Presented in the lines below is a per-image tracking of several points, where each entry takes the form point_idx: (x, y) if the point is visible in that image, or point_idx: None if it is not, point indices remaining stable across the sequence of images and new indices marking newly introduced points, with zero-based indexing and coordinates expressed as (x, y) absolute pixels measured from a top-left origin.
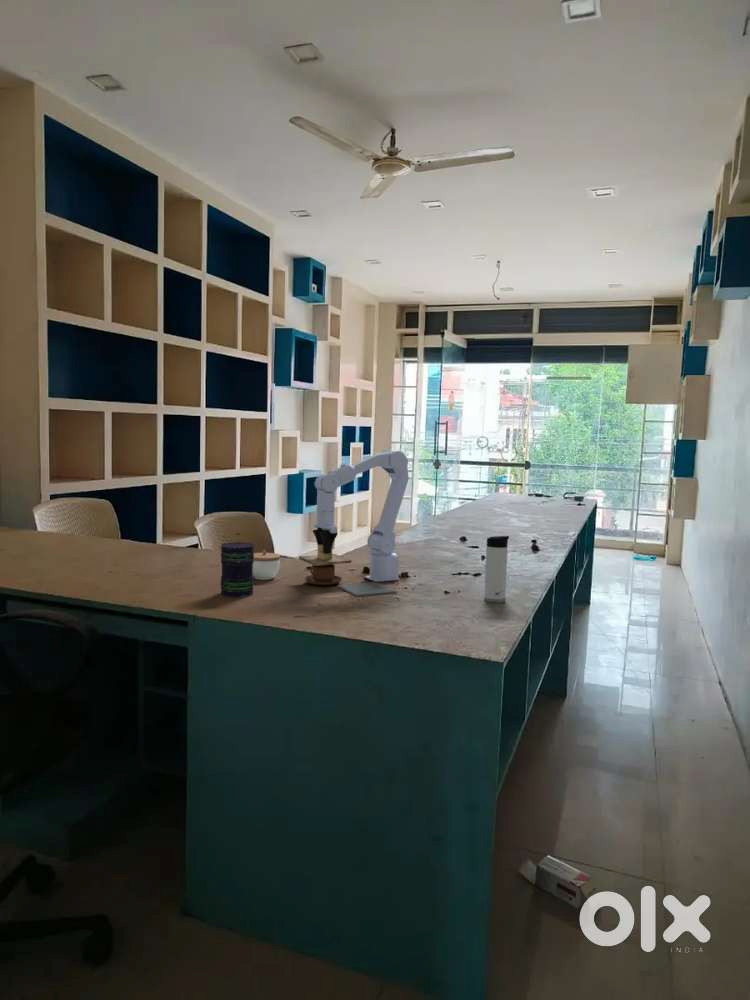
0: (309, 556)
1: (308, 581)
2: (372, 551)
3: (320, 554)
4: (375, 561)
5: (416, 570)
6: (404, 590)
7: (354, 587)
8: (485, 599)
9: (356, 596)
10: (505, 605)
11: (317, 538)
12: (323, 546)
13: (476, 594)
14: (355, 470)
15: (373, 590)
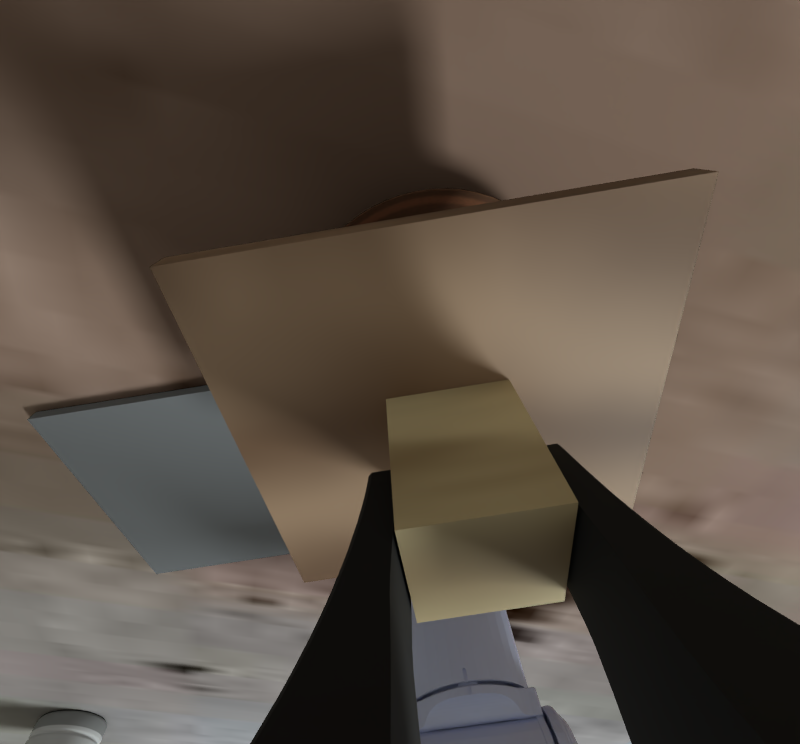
0: (629, 312)
1: (389, 200)
2: (485, 703)
3: (440, 425)
4: (426, 646)
5: (545, 661)
6: (213, 591)
7: (233, 447)
8: (58, 715)
9: (37, 412)
10: (12, 726)
11: (650, 605)
12: (376, 540)
13: (157, 707)
14: None
15: (159, 506)
